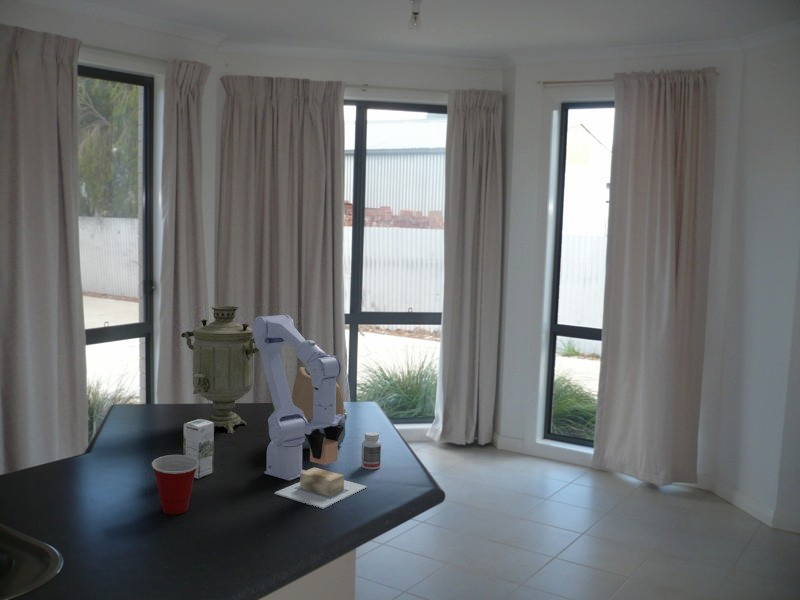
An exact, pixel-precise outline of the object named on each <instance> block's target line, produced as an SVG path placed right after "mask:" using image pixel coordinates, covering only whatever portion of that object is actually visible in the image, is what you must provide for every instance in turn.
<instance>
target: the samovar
mask: <svg viewBox="0 0 800 600" xmlns="http://www.w3.org/2000/svg"><path fill="white" fill-rule="evenodd" d="M210 308H211V310H212V311H213V317H214V319H215V321H212V322H210V323H208V325H207V322H208V320H207V319H204V318H203V319H202V320H200V322H201V324H202V326H198V327H196V328H193V329H192V331H189V330H187V331H186V332H182V333H181V335H180V336H181V338H185V339H186V345H187V346H188V348H189V349H190V350H192V353H193V354H192V360H193V362H192V384H193V388H194V389H193V392H192V394H194V395H196V394H199V395H200V396H201V397H202V398H204V399H206V400H208V401H210V402H212V408H213V409H215V410H216V412H214V413H212V414H211V416H209V417H208V418H207V419H206V420H207V421H210V422H213V423H214V428H215V427H218V428H221V427H224V428H225V429H226V430H227V434H234V433H235V430H234V427H235V425H239V424H244V425H245V426H246V425H247V422H246V421H245V420H242V418H241V416H240V415H238V414H237V413H236V412H235V411H234V412H233V411H232V409H234V408H235V407H236V401H237V400H239V399H241V398H243V397H245V395H246V394H248V393H249V392H250V391H251V390H252V388H253V386H254V382H255V380H254V375H255V374H254V371H255V370H254V368H255V367H254V365H255V363H254V362H255V354H256V353H258V352H259V349H257V348H256V347H255V340H254V336H253V333H252V327H249V324H248V323H242V325H241V324H239V323H238V322H237V321H234V319H235V317H236V311H237V310H238V309H239V307H238V306H235V305H214V306H210ZM191 337H194V339H195V340H194V342H193V344H192V338H191ZM233 432H234V433H233Z"/></svg>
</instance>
